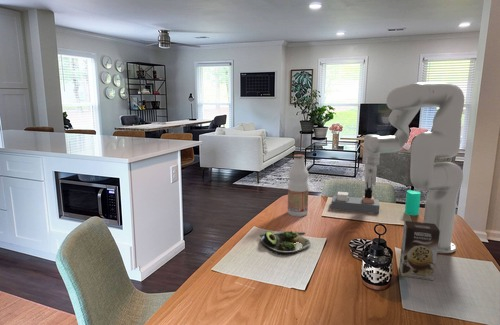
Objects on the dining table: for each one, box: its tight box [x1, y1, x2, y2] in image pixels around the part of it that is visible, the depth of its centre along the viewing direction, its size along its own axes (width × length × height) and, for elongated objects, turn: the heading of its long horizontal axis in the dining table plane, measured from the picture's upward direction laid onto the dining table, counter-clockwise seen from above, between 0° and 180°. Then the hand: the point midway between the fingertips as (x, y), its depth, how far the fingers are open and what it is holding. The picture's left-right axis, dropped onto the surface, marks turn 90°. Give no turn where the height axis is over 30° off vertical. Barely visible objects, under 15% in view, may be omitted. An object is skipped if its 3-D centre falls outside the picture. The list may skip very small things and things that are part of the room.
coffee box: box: [398, 220, 440, 281], centre depth 103 cm, size 9×6×16 cm
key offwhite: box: [336, 191, 349, 201], centre depth 166 cm, size 5×5×4 cm
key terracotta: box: [362, 195, 375, 204], centre depth 163 cm, size 5×5×4 cm
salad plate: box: [258, 230, 312, 256], centre depth 126 cm, size 19×18×5 cm
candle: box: [404, 189, 422, 216], centre depth 157 cm, size 6×6×12 cm
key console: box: [330, 195, 381, 215], centre depth 165 cm, size 22×10×4 cm, turn 72°
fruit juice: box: [287, 154, 310, 217], centre depth 155 cm, size 9×9×28 cm
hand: (368, 197), depth 163 cm, fingers closed
